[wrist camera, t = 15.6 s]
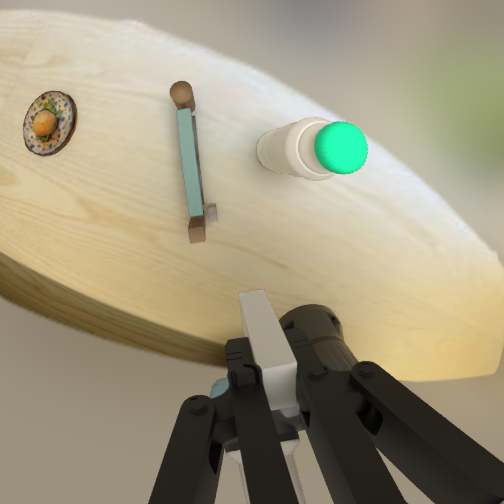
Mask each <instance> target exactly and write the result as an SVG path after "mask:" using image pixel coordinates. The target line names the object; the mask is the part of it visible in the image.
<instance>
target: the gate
mask: <svg viewBox="0 0 504 504" xmlns="http://www.w3.org/2000/svg"><path fill="white" fill-rule="evenodd" d="M176 112H177V122H178V132H179V141H180V149H181V157H182V165H183V173H184V181H185V188H186V195H187V202H188V209H189V215H190V217H192V216H199V215H203V208H202V199H201V191H200V184H199V176H198V168H197V160H196V151H195V143H194V134H193V125H192V116H191V109H190V108H188V109H181V110H176Z"/></svg>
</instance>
